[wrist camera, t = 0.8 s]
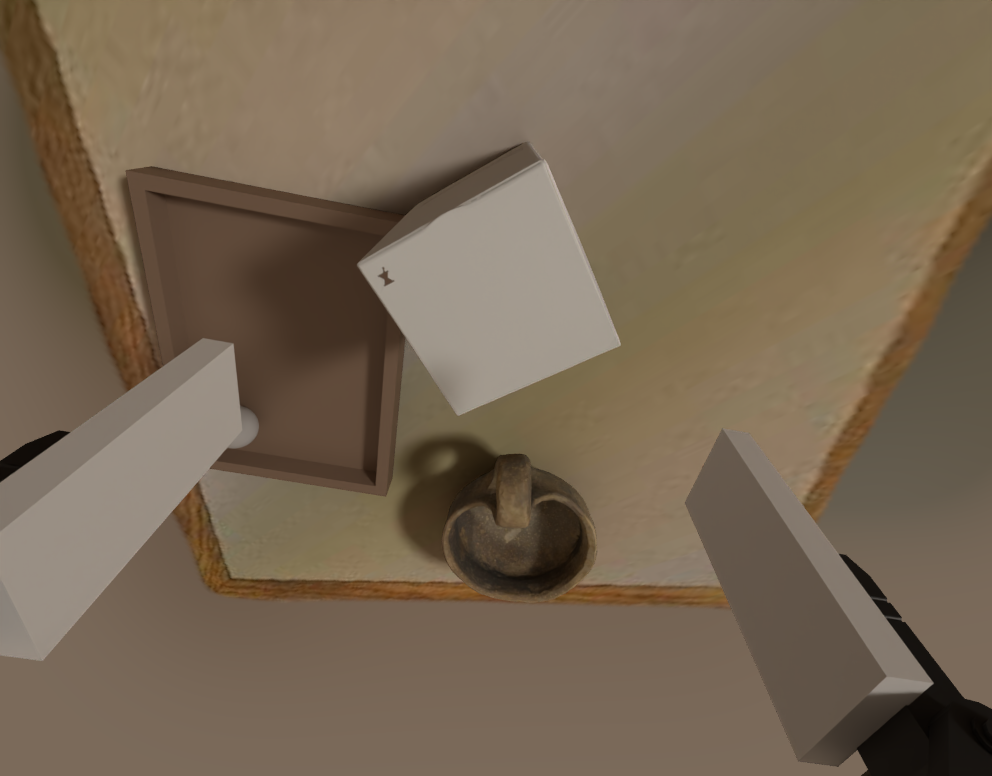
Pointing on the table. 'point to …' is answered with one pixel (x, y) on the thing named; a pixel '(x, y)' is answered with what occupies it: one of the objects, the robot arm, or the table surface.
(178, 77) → the table surface
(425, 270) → the supplement box
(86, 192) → the table surface
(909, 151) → the table surface
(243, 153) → the table surface
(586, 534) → the bowl
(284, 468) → the tray
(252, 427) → the ball
